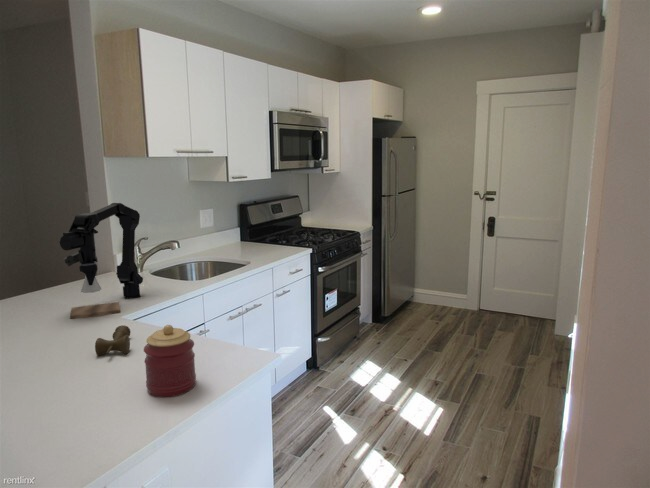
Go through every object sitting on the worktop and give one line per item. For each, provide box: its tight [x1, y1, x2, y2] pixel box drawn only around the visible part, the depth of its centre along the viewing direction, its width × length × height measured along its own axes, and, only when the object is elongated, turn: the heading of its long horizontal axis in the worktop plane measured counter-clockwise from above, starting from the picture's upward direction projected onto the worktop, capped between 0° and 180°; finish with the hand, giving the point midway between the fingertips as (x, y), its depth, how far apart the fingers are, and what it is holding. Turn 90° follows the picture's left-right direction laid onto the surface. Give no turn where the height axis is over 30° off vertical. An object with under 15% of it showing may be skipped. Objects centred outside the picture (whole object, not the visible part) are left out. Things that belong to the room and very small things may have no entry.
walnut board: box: [69, 301, 121, 320], centre depth 191 cm, size 18×12×1 cm, turn 116°
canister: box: [143, 324, 197, 398], centre depth 126 cm, size 13×13×18 cm
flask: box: [80, 274, 102, 294], centre depth 188 cm, size 7×7×10 cm
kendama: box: [94, 325, 132, 357], centre depth 153 cm, size 6×10×20 cm
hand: (90, 283), depth 189 cm, fingers closed on flask, 5 cm apart
